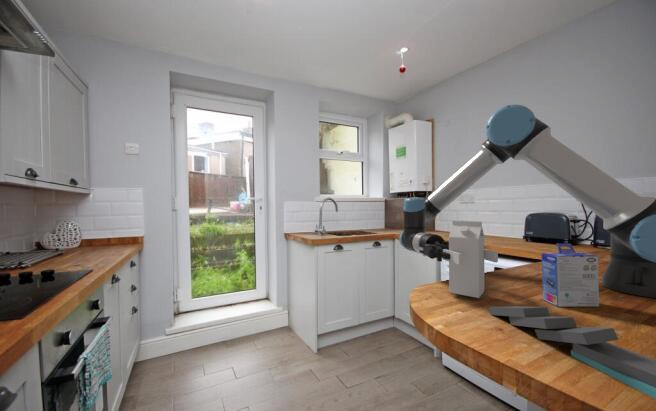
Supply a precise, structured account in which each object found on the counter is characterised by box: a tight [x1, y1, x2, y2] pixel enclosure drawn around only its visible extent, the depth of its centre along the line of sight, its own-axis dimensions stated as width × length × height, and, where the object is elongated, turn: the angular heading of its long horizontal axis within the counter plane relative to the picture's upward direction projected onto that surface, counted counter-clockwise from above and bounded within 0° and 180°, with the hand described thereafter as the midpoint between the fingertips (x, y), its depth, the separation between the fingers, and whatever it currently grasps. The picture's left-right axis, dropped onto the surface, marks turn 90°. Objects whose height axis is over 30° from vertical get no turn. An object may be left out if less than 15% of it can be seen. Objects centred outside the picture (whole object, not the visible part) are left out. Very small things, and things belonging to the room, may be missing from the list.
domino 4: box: [572, 341, 656, 388], centre depth 39 cm, size 2×5×10 cm
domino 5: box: [570, 349, 656, 400], centre depth 40 cm, size 2×5×10 cm
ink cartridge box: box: [540, 242, 600, 308], centre depth 67 cm, size 10×6×14 cm, turn 89°
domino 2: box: [508, 315, 577, 329], centre depth 51 cm, size 2×5×10 cm
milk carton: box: [448, 220, 485, 299], centre depth 72 cm, size 7×7×19 cm
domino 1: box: [488, 305, 551, 317], centre depth 56 cm, size 2×5×10 cm
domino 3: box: [534, 325, 619, 345], centre depth 45 cm, size 2×5×10 cm
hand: (478, 258), depth 68 cm, fingers closed on milk carton, 10 cm apart
